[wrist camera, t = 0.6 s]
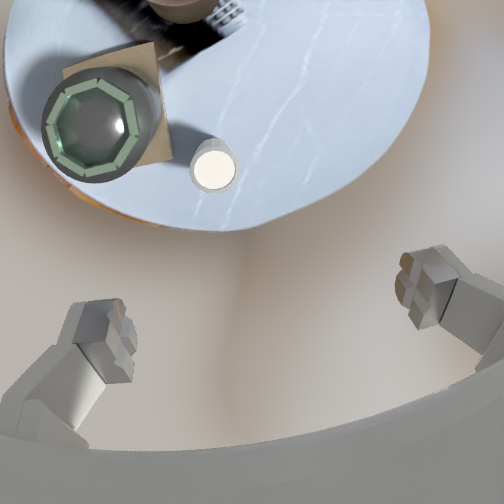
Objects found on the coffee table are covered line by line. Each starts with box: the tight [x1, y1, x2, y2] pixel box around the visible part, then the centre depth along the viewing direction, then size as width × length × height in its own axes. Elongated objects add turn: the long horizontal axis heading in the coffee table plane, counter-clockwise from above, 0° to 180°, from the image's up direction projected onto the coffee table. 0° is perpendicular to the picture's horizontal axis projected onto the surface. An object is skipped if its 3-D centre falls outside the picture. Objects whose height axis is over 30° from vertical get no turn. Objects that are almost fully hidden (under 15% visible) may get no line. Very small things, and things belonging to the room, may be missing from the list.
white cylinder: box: [189, 138, 241, 194], centre depth 43 cm, size 7×7×7 cm
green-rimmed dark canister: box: [41, 42, 174, 183], centre depth 34 cm, size 18×14×13 cm
